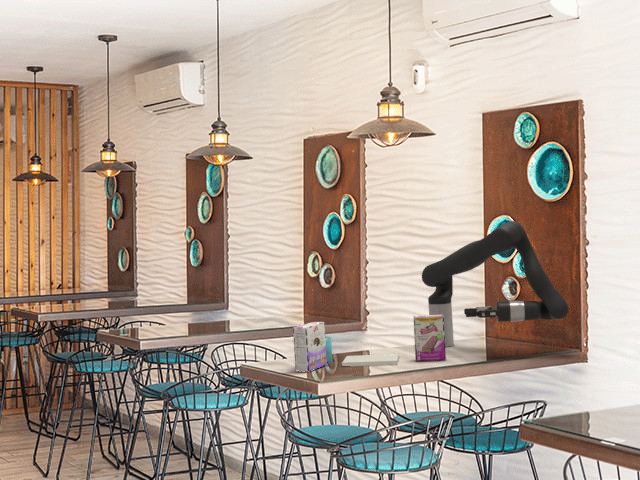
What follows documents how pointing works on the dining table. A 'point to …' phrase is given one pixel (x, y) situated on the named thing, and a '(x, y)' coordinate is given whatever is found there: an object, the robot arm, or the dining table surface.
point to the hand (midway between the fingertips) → (465, 312)
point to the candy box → (310, 346)
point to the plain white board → (371, 360)
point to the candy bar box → (429, 338)
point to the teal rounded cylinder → (329, 349)
